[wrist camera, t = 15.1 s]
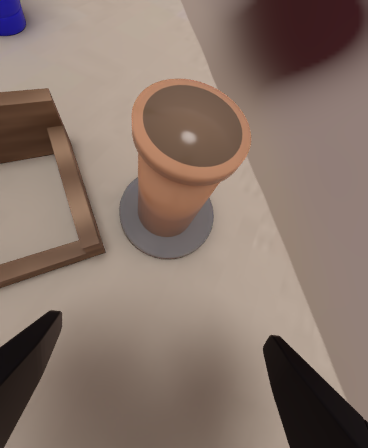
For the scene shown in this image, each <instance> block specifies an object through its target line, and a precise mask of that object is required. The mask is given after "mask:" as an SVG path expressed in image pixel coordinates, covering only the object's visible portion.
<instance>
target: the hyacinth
mask: <svg viewBox="0 0 368 448" xmlns="http://www.w3.org/2000/svg"><path fill="white" fill-rule="evenodd" d="M25 26H26V21H25V17H24V14H23V11H22V7H21V4H20V0H0V36H9V35H14V34H17V33H19V32H21V31H22V30H23V29H24V28H25Z"/></svg>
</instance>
